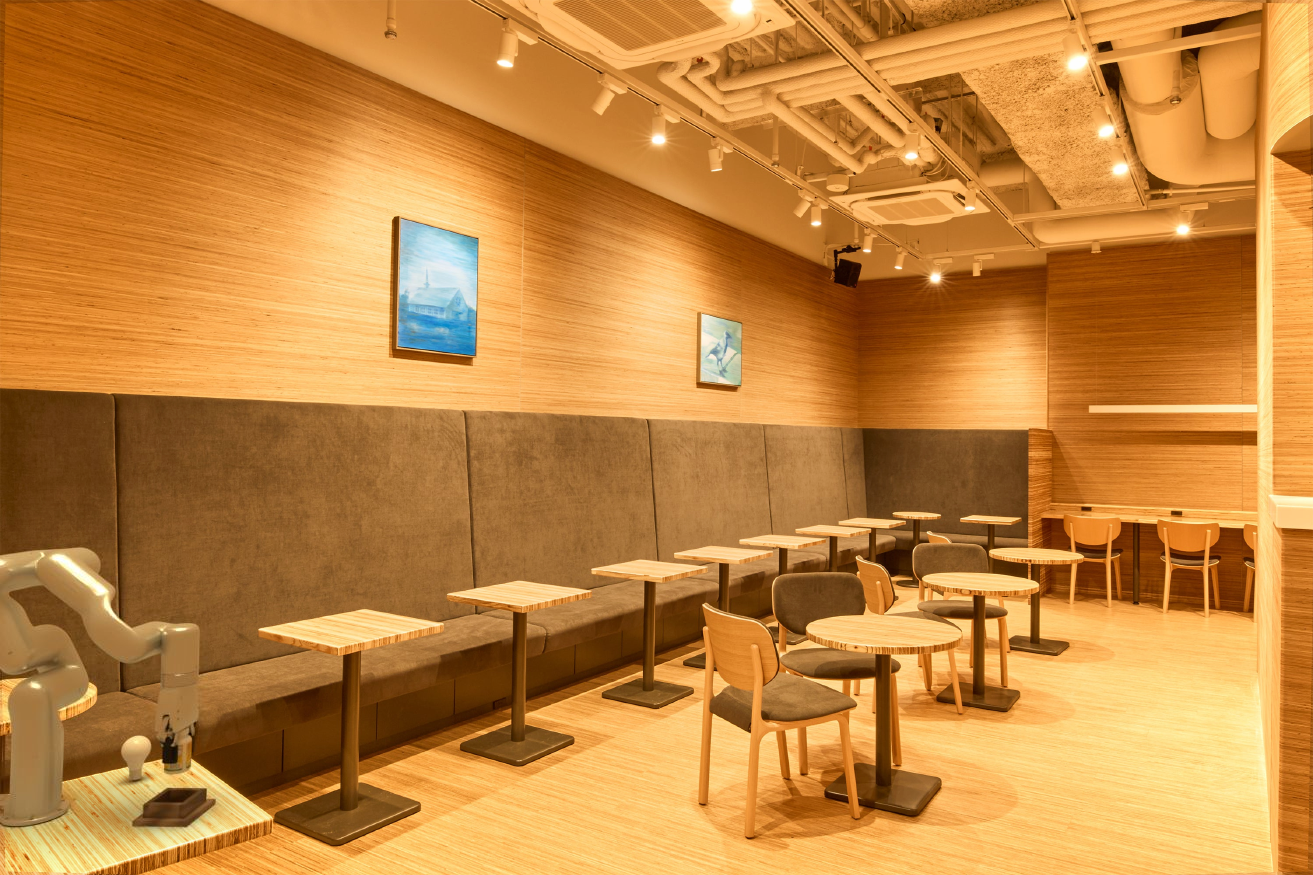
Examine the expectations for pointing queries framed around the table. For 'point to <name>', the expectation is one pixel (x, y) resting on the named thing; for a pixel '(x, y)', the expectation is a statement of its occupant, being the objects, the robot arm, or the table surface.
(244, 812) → the table surface
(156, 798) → the holder
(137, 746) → the lightbulb
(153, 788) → the table surface
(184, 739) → the supplement bottle
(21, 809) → the robot arm
